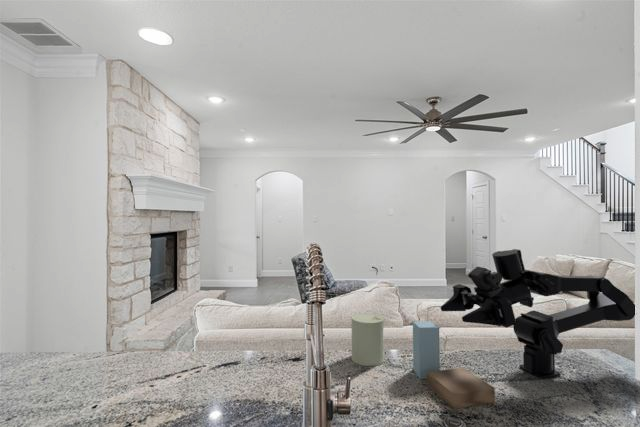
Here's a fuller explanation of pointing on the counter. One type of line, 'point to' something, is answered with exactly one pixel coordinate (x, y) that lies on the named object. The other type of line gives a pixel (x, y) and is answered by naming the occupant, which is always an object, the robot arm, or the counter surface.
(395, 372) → the counter surface
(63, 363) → the counter surface
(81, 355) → the counter surface
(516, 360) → the counter surface
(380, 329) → the can
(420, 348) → the block
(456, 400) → the slab
